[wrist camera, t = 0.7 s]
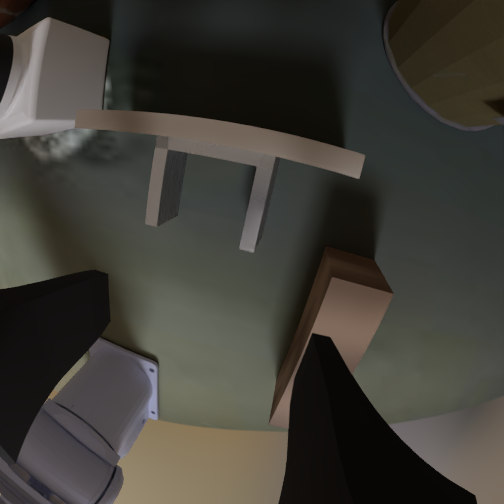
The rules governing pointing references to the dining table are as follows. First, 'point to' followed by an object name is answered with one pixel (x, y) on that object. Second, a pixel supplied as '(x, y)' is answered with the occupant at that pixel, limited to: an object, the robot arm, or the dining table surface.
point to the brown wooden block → (335, 318)
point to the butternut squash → (12, 10)
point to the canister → (450, 58)
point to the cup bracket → (172, 172)
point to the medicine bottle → (49, 77)
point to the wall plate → (226, 137)
